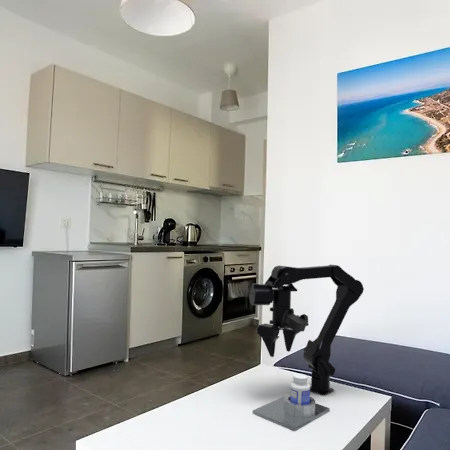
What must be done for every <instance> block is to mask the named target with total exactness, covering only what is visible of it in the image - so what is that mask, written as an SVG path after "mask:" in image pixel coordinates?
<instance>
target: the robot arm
mask: <svg viewBox="0 0 450 450" xmlns="http://www.w3.org/2000/svg"><path fill="white" fill-rule="evenodd" d="M325 278H330V280H331V281H332V283H334V285H336V286H337V288H336V291H335V301H334V303H333V306H332V307H331V310H330V311H329V314H328V316H327V317H326V320H325V322H324V323H323V326H322V328H321V330H320V332H319V334H318V336H317V338H315V339H314V340H311V339H309V340H308V341H307V343H306V346H305V348H303V356H302V357H303V358H304V362H305V363H306V364H307V366H308V368H309V369H311V378H310V379H311V382H310V383H311V384H310V392H312V393H316V394H319V395H322V396H326V395H328V394H330V393H332V392H334V390H335V389H334V388H332V387H330V386H331V385H330V383H331V380H330V379H331V376H334V375H335V373H336V368H335V367H334V366H333V364H331V362H330V358H331V354H332V353H331V351H332V349H331V348H332V347H331V346H332V343H333V341H335V340H334V339H335V338H336V335H337V334H338V332H339V330H340V327H341V325H342V323H343V321H344V319H345V317H346V315H347V313H348V311H349V309H350V307H351V306H352V305H354V304H355V303H356V302H357V301H358V300H359V299H360V298H361V296H362V295H363V293H364V289H365V288H364V286H363V283H362V282H361V280H358V279H355V278H354V276H352V275H351V274H349V273H348V272H347V271H345V270H344V269H343V268H342V267H341V266H340V265H336V264H329V265H316V266H305V267H295V266H294V267H293V266H286V265H277V266H274V267H273V269H272V270H271V274H270V276H269V277H268V279H267V280H266V281H265V283H264V284H263V283H262V284H261V283H252V284H251V287H250V290H249V293H248V294H249V295H248V299H249V303H250V305H251V306H269V305H271V304H272V307H269V312H272V317H271V318H272V319H271V320H269V323H261V324H258V325H257V327H256V334H257V335H258V337H261V339H262V341H263V343H264V345H265V346H266V351H268V352H267V353H268V355H269V356H270V357H271V358H274V356H275V350H276V342H277V340H278V339H279V338H280V335H279V334H280V331H282V335H283V339H284V346H285V349H286V352H291V349H292V347H293V343H294V342H295V341H294V340H295V338H296V335H298V334H299V333H300V332H305V331H306V330H305V329H306V328H307V327H308V326H309V316H308V315H307V314H305V313H303V314H301V315H296V314H295V310H294V308H291V301H292V300H291V299H292V297H291V296H292V295H291V294H292V292H298V288H296V287H295V286H294V284H295V283H297V282H300V281H304V280H312V279H325ZM278 335H279V336H278Z"/></svg>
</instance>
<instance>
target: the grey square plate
mask: <svg viewBox="0 0 450 450" xmlns="http://www.w3.org/2000/svg"><path fill="white" fill-rule="evenodd" d="M290 394H291V393H290ZM290 394H287V395H284V396H282V397H280V398H278V399H275V400H273V401H270V402H269V403H265V404H263V405H261V406H259V407H258V408H256V409H255V408H254V409H253V410H252V414H253V415H256V416H257V417H260V418H262V419H265V420H267V421H269V422H272V423H275V424H276V425H279V426H281V427H283V428H286V429H288V430H291V431H293V432H295V431H297V430H299V429H301V428H302V427H305V426H307V425H308V424H309V423H311V422H313V421H315V420H316V419H318V418H320V417H322V416H323V415H326V414H327V413H329V412H330V411H331V408H330V407H327V406H325V405H322V404H320V403H316V400H315V399H314V398H313V397H312V396H310V404H305V405H301V404H295V403H292V402H290Z"/></svg>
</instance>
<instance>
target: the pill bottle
mask: <svg viewBox="0 0 450 450" xmlns="http://www.w3.org/2000/svg"><path fill="white" fill-rule="evenodd" d="M292 378H293V380H292V381H293V382H292V383H290V402H292V403H295V404H301V405H305V404H310V397H311V391H310V387H311V384H309V383H308V380H309V379H308V375H307V374H303V373H295V374H293V377H292Z"/></svg>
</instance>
